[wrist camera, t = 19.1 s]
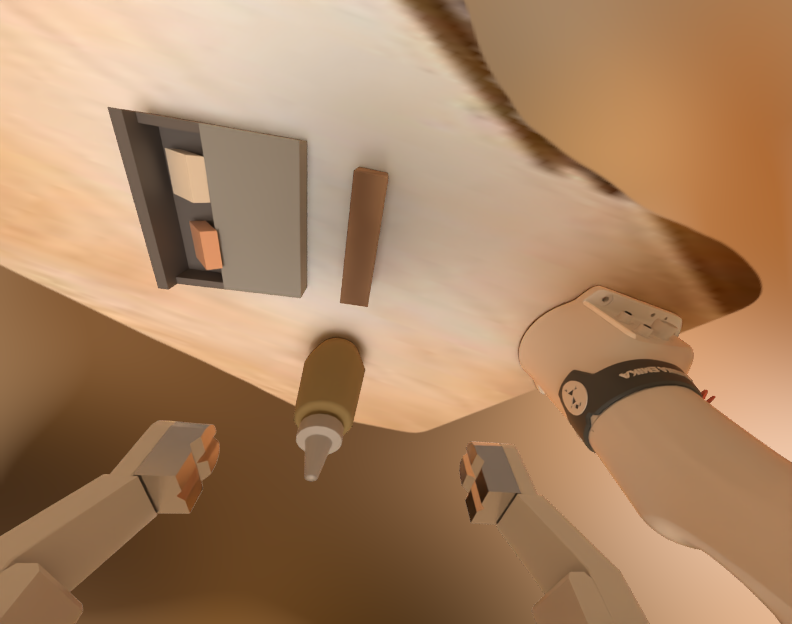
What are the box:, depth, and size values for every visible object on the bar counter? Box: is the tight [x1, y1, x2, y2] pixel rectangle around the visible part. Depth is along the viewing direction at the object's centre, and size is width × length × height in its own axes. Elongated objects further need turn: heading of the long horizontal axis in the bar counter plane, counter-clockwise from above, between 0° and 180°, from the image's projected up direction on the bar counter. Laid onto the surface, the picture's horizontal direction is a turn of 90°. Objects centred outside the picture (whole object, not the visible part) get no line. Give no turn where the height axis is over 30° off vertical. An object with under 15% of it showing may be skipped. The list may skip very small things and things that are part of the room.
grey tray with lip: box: [108, 107, 307, 298], centre depth 29 cm, size 14×16×4 cm
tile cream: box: [165, 148, 210, 203], centre depth 27 cm, size 4×4×2 cm
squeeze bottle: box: [294, 337, 365, 481], centre depth 33 cm, size 8×8×18 cm
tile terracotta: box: [189, 221, 223, 270], centre depth 30 cm, size 4×4×2 cm
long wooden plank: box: [340, 167, 388, 307], centre depth 30 cm, size 3×13×6 cm, turn 169°
